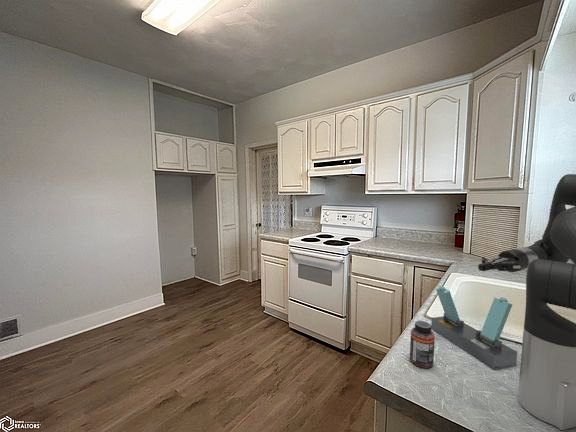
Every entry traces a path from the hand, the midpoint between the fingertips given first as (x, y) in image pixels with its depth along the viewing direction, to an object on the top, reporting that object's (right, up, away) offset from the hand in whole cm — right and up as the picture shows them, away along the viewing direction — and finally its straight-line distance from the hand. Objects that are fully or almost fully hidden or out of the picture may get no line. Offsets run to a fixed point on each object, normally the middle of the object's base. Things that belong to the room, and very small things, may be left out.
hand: (480, 267), depth 87 cm
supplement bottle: (-28, -24, -15) cm, 40 cm away
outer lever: (-10, -17, -1) cm, 20 cm away
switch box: (-8, -23, -6) cm, 25 cm away
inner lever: (-7, -18, -12) cm, 23 cm away
